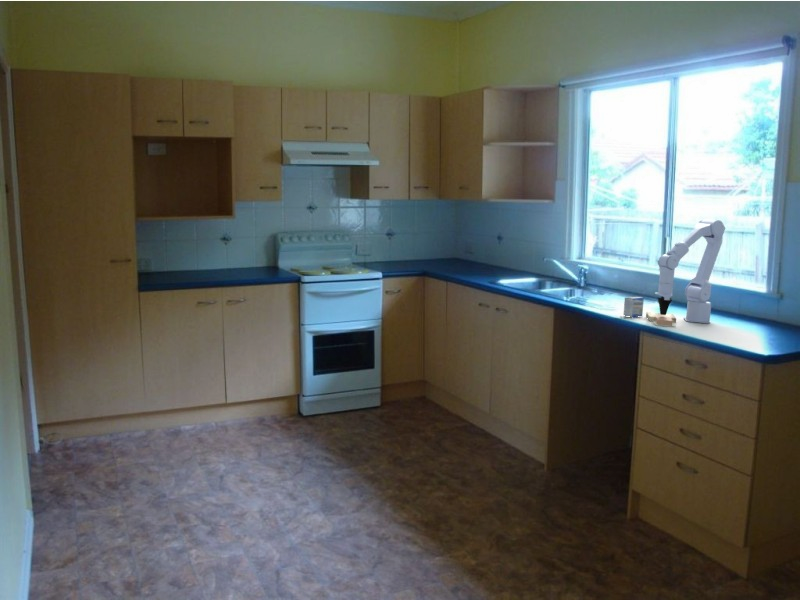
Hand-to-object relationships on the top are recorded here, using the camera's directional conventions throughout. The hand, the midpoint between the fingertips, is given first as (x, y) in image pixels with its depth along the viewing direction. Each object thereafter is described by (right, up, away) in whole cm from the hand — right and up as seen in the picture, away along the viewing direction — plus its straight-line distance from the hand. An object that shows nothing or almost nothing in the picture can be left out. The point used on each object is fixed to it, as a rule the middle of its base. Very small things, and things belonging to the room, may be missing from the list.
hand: (663, 314), depth 311 cm
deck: (+1, -2, +6) cm, 6 cm away
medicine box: (-9, -1, +12) cm, 15 cm away
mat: (-1, -4, -4) cm, 6 cm away
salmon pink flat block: (-1, -4, -4) cm, 6 cm away
